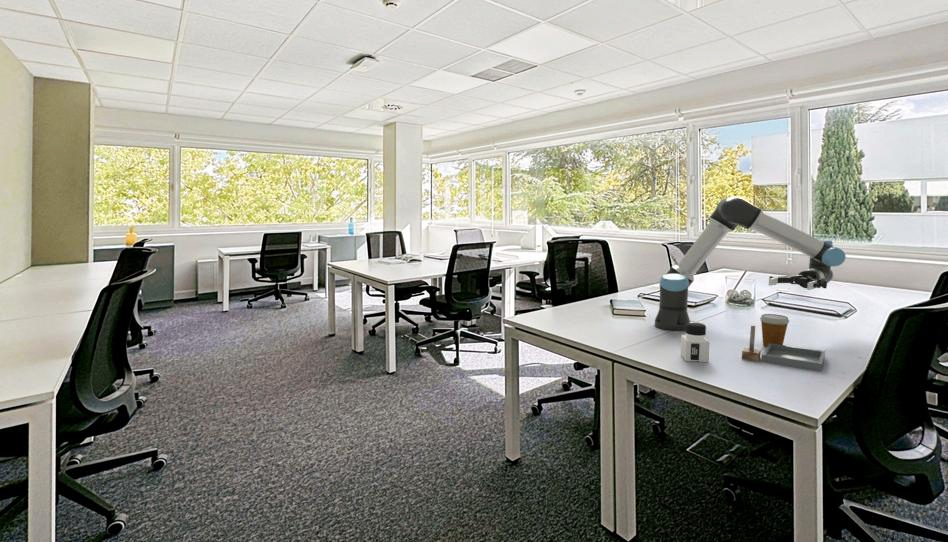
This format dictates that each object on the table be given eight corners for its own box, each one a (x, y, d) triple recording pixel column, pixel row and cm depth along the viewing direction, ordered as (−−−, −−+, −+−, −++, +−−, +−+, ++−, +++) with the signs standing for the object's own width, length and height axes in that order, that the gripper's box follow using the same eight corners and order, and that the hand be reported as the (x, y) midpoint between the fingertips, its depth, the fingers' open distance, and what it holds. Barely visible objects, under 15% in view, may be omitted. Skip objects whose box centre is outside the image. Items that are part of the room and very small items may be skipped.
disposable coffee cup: (759, 341, 189) (761, 312, 188) (787, 345, 184) (789, 315, 182) (757, 347, 182) (759, 317, 180) (786, 351, 176) (789, 320, 175)
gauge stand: (741, 359, 169) (743, 326, 167) (744, 355, 173) (746, 323, 171) (757, 361, 166) (760, 328, 164) (760, 358, 170) (762, 325, 168)
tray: (761, 361, 166) (762, 354, 166) (768, 349, 179) (769, 343, 179) (821, 371, 155) (822, 363, 155) (824, 358, 168) (825, 351, 168)
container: (708, 362, 166) (710, 326, 164) (685, 361, 167) (686, 325, 165) (702, 355, 173) (704, 321, 171) (680, 354, 175) (681, 320, 173)
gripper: (845, 291, 188) (825, 298, 176) (776, 283, 208) (754, 289, 196) (847, 272, 187) (827, 278, 175) (777, 267, 207) (755, 271, 195)
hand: (788, 284), depth 185 cm, fingers open, 13 cm apart
